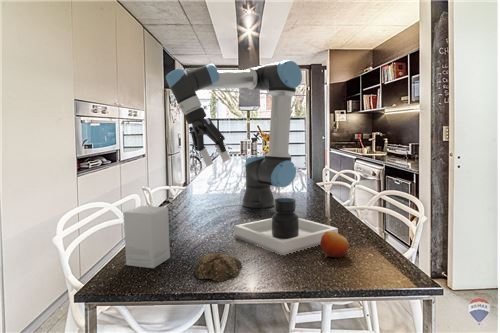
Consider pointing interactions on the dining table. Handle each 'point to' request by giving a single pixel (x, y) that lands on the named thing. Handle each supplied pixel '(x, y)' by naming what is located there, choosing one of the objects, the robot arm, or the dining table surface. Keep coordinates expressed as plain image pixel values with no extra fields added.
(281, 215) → the ink bottle
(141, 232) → the supplement box
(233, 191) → the dining table surface
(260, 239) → the tray
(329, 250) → the fruit
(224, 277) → the brown lumpy mound
